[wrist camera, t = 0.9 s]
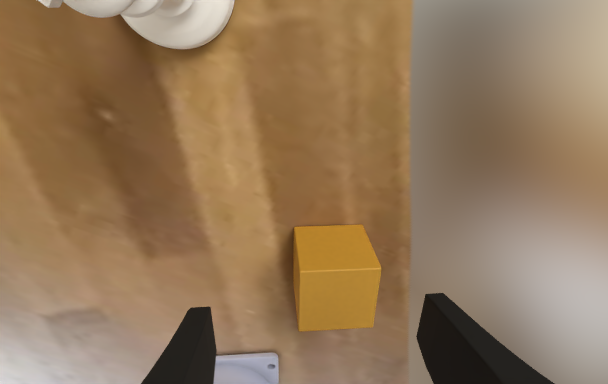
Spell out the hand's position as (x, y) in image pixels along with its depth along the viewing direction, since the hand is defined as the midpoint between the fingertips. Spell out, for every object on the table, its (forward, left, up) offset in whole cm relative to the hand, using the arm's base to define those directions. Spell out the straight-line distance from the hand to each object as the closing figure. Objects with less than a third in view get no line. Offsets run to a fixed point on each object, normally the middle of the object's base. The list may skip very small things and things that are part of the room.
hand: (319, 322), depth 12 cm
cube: (-4, -2, -9) cm, 10 cm away
